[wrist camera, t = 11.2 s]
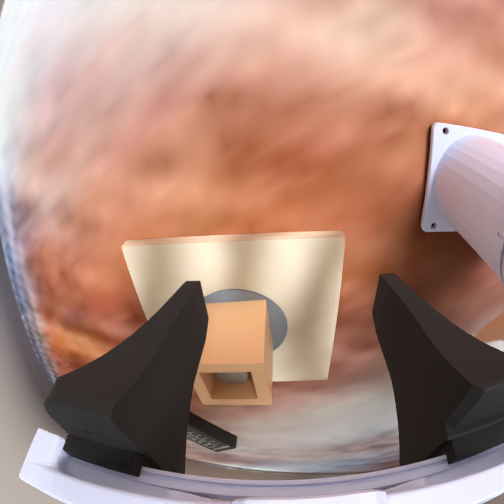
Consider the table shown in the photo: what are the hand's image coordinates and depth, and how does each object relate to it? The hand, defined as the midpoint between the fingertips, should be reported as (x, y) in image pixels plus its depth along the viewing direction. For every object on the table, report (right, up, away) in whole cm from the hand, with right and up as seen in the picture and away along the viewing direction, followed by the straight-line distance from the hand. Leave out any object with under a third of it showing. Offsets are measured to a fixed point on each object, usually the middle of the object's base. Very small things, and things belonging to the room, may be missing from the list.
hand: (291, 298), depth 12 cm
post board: (-3, -4, +14) cm, 14 cm away
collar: (-3, -4, +12) cm, 13 cm away
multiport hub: (-10, -21, +25) cm, 35 cm away
